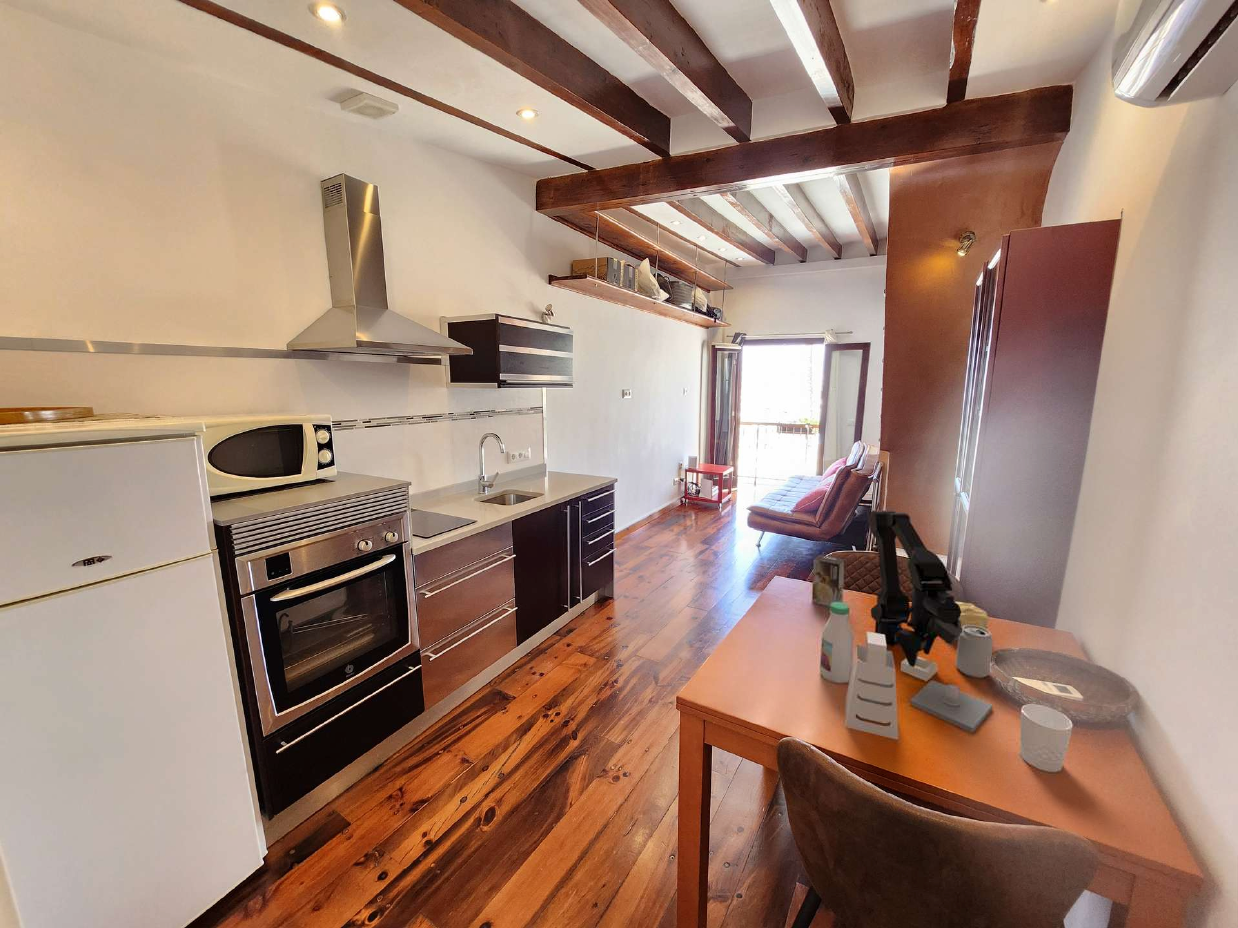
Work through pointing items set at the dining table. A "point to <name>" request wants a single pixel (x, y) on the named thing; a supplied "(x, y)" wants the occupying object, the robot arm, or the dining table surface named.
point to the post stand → (951, 705)
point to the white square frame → (920, 668)
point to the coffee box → (827, 580)
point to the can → (974, 651)
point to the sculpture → (972, 615)
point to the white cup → (1044, 737)
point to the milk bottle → (837, 645)
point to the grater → (873, 688)
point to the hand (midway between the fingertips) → (919, 659)
